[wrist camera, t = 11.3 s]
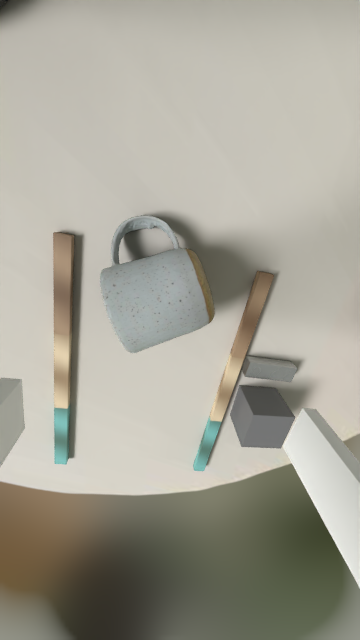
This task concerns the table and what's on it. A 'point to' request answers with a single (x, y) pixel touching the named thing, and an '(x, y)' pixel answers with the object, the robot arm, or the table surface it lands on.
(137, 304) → the ceramic mug
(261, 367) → the bar
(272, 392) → the block
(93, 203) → the table surface
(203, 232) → the table surface
